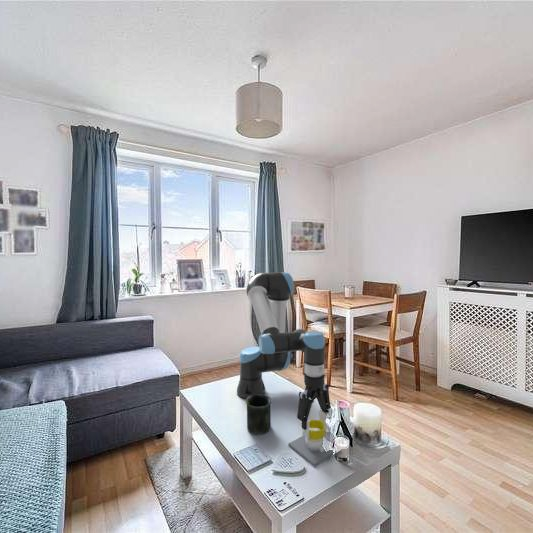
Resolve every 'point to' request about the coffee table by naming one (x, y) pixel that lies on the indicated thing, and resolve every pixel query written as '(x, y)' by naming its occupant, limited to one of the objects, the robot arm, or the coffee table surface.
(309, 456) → the plate
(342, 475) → the coffee table surface
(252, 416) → the mug
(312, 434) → the bracelet
